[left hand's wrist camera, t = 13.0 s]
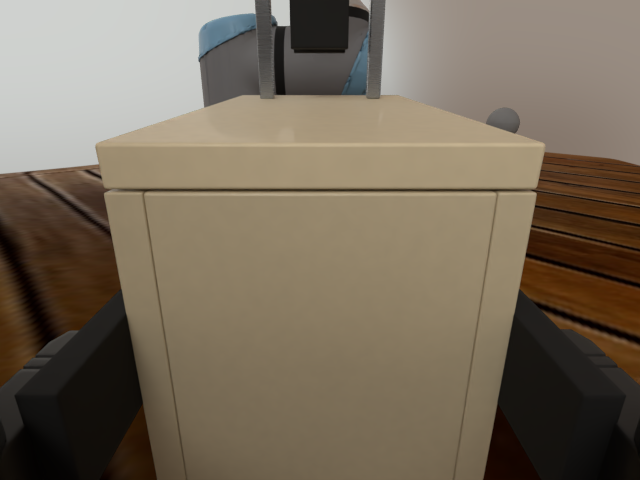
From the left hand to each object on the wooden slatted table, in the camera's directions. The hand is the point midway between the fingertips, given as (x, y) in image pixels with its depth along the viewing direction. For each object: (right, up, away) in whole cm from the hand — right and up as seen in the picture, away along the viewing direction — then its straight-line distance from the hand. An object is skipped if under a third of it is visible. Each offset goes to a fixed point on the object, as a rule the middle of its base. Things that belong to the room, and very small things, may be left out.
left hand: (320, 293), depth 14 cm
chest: (0, -5, +7) cm, 8 cm away
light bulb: (+36, +18, +68) cm, 79 cm away
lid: (0, +6, +3) cm, 7 cm away
